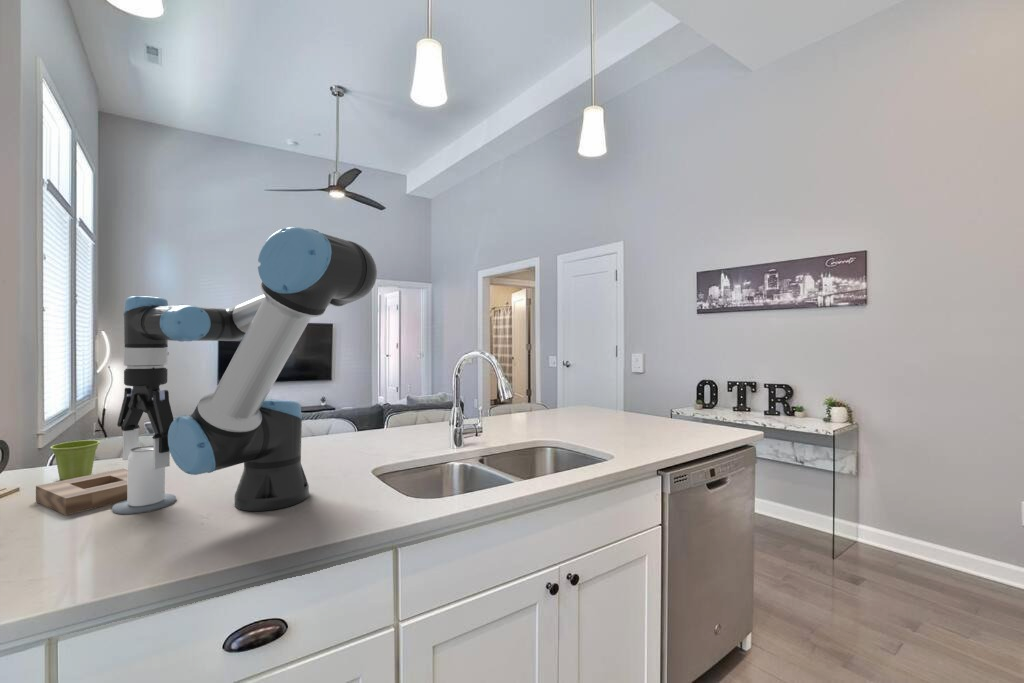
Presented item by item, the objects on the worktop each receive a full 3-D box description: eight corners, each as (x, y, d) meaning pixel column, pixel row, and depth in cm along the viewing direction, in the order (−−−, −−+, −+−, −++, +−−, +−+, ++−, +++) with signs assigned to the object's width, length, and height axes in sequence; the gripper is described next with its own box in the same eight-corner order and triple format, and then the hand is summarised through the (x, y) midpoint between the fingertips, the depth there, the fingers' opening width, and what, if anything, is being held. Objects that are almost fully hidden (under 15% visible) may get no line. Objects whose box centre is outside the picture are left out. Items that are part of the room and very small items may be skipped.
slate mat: (186, 501, 103) (186, 498, 103) (126, 518, 94) (127, 515, 94) (160, 493, 109) (160, 490, 109) (102, 508, 99) (102, 505, 99)
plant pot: (75, 482, 116) (76, 448, 116) (39, 482, 116) (39, 447, 116) (109, 472, 125) (109, 440, 125) (75, 471, 125) (75, 439, 125)
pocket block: (155, 492, 109) (155, 478, 109) (65, 515, 95) (65, 498, 95) (123, 482, 116) (123, 468, 116) (35, 501, 102) (35, 485, 102)
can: (144, 508, 97) (144, 452, 97) (119, 506, 98) (119, 450, 98) (172, 498, 103) (172, 445, 103) (148, 496, 105) (148, 444, 105)
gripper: (195, 368, 98) (195, 466, 99) (138, 364, 110) (137, 452, 110) (155, 370, 92) (154, 475, 92) (99, 365, 104) (98, 459, 104)
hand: (145, 463), depth 101 cm, fingers open, 13 cm apart
